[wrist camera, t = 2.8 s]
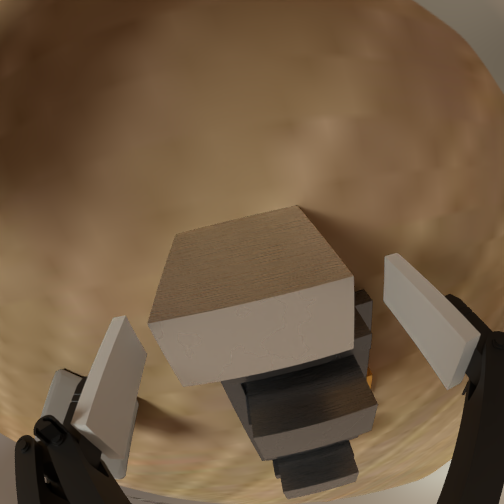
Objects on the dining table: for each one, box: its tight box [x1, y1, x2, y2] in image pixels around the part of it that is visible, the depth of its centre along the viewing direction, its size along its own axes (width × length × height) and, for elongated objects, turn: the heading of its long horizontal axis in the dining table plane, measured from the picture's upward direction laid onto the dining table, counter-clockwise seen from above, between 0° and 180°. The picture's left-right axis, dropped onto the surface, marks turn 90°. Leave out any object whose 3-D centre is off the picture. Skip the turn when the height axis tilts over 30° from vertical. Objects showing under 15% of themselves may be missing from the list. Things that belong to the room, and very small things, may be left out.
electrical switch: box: [35, 369, 139, 479], centre depth 21 cm, size 9×5×9 cm, turn 63°
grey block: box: [147, 205, 354, 387], centre depth 15 cm, size 4×8×9 cm, turn 102°
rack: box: [221, 290, 378, 499], centre depth 23 cm, size 24×14×9 cm, turn 12°
